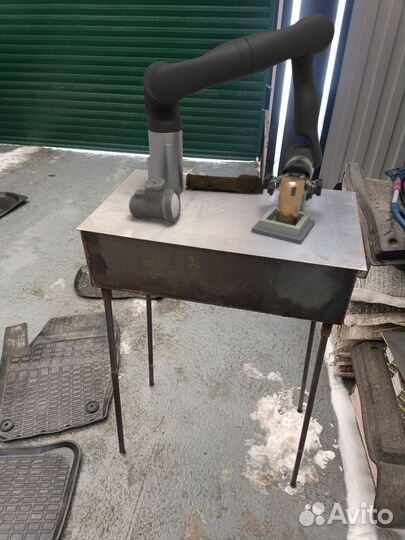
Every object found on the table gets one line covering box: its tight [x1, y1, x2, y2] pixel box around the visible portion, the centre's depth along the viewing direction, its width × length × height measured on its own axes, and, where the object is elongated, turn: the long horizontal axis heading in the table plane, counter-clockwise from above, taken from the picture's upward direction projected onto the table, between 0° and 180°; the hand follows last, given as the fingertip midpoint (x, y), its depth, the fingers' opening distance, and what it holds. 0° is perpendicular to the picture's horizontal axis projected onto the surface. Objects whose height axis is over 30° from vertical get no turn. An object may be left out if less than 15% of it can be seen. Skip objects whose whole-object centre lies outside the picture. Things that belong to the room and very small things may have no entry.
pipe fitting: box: [128, 178, 182, 223], centre depth 94 cm, size 12×8×10 cm
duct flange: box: [250, 205, 316, 245], centre depth 92 cm, size 12×12×3 cm
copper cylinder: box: [275, 177, 305, 226], centre depth 88 cm, size 5×5×11 cm
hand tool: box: [185, 172, 265, 195], centre depth 111 cm, size 23×5×6 cm, turn 78°
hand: (288, 194), depth 90 cm, fingers open, 8 cm apart
